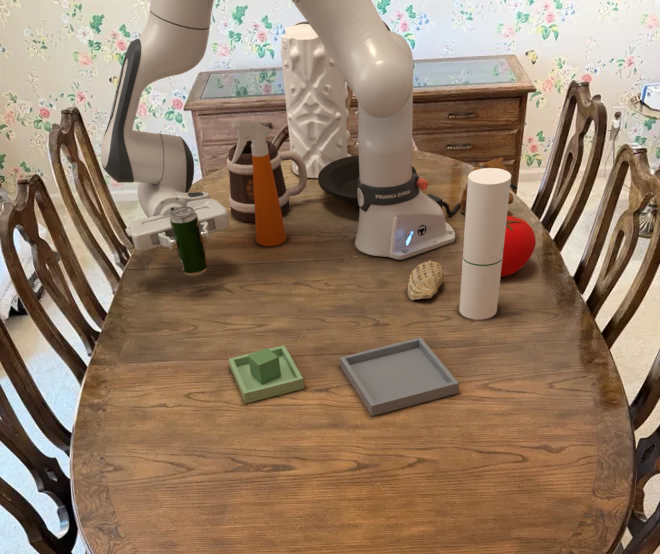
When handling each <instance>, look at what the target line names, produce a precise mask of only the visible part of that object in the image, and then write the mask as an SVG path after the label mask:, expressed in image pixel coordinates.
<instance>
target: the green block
mask: <svg viewBox="0 0 660 554" xmlns="http://www.w3.org/2000/svg"><path fill="white" fill-rule="evenodd" d="M254 352H255V353H254ZM254 352H251V353H252V354H250V353H249V354H250V355H248V360H249V366H250V372H251V375H252V376H253V377H254V378H255V379H256V380H258V381H259V382H260V383H261V384H265V383H267V382H269V381H271V380H274V379H276V378H278V377H281V371H280V364H279V357H278V356H277V355H276V354H274V353H273V352H272V351H271V350H270V348H269V347H265V348H262V349H260V350H258V351H254Z"/></svg>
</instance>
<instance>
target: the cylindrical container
mask: <svg viewBox="0 0 660 554" xmlns="http://www.w3.org/2000/svg"><path fill="white" fill-rule="evenodd" d="M472 171H473V170H472ZM472 171H471V172H470V173H469V174H468V176H467V183H468V187H467V202H466V215H465V218H464V233H463V251H462V263H461V264H462V265H461V279H460V293H459V307H458V311H459V313H460V314H461V316H463V317H465V318H467V319H469V320H475V321H476V320H477V321H478V320H479V321H480V320H487V319H491V318H492V317H494V316H495V315H496V314H497V312H498V304H499V303H498V302H499V295H500V285H501V278H502V277H501V267H502V258H503V249H504V239H505V230H506V221H507V212H508V211H509V204H508V202H509V193H511V192H510V191H511V188H510V184H512V177H511V175H512V174H511V172H509V171H506V170H503V169H498V168H483V169H478V170H475V171H473V172H472Z"/></svg>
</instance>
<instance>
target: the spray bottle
mask: <svg viewBox="0 0 660 554" xmlns="http://www.w3.org/2000/svg"><path fill="white" fill-rule="evenodd" d="M231 129H233V130H235V131H237V132H236V136H237V143H236V144H237V147H236V150H235V153H234V156H233V159H232V161H231V164H234V163H235V162H236V161H237V159H238V158H239V156H240V155H241V153H242V151H243V149H244V147H245V145H246V142H247V141H250V140H252V144H251V150H252V164H253V183H254V202H255V222H256V223H255V238H256V243H257V244H259V245H260V246H263V247H275V246H278V245H281V244H283V243H284V242H285V241H287V233H286V228H285V221H284V218H283V216H282V213H281V208H280V204H279V199H278V194H277V190H276V185H275V180H274V175H273V171H272V166H271V161H270V157H269V153H268V145H267V143H266V141H267V140H266V137H268V136H269V135H270V134H271V133H272V129H271V128H270V127H268V126H265V125H264V124H262V123H259V122H256V121H251V120H246V119H245V120H244V119H242V120H241V119H237V121H233V122H231Z"/></svg>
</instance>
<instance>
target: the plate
mask: <svg viewBox="0 0 660 554" xmlns="http://www.w3.org/2000/svg"><path fill="white" fill-rule="evenodd" d="M412 173H414V174H416V175H418V173H417V170H416V168H415V167H414V165H412ZM359 176H360V174H359V154H356V155H351V156H350V157H345V158H342V159H339V160H336V161H334V162H331V163H330V164H328V165H326V166H325V167H324V168H323V169H322V170H321V171H320V173H319V175H318V178H317V180H318V186H319V187H320V188H321V190H323V191H324V192H325V193H326V194H329V196H331V197H333V198H336V199H337V200H339V201H342V202H344V203H347V204H350V205H353V206H356V207H359V203H358V193H357V190H358V178H359Z"/></svg>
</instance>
